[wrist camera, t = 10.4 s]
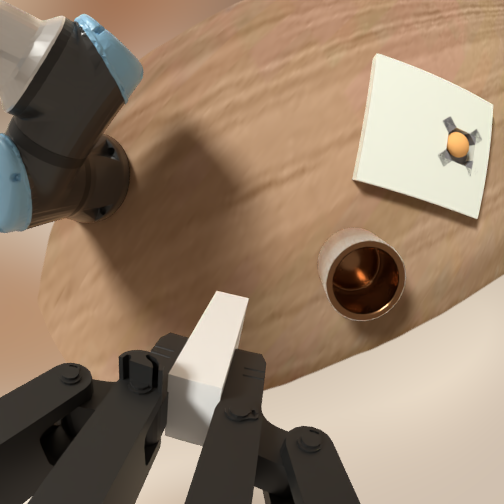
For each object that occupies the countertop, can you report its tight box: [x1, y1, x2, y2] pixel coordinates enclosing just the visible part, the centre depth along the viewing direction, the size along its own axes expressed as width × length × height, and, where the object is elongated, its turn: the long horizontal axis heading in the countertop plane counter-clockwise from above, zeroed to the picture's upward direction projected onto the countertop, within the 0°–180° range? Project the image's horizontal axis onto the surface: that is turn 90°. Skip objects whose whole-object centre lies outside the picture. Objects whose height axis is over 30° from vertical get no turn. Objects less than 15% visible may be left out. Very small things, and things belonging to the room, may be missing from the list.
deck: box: [352, 53, 493, 219], centre depth 39 cm, size 22×20×2 cm
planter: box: [318, 228, 406, 321], centre depth 41 cm, size 11×11×10 cm
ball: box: [447, 132, 469, 158], centre depth 37 cm, size 4×4×4 cm
